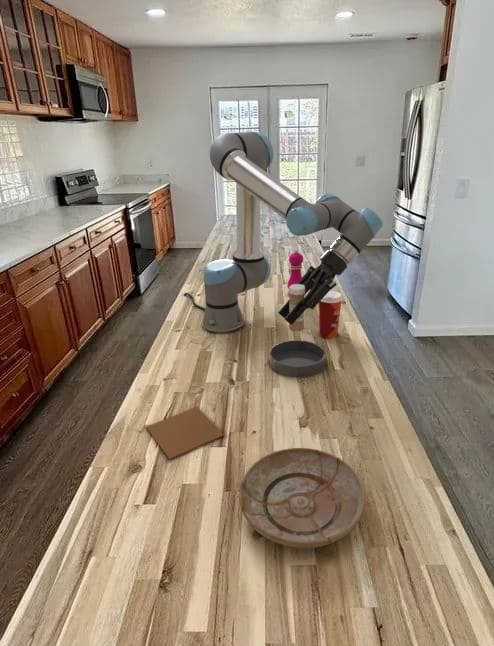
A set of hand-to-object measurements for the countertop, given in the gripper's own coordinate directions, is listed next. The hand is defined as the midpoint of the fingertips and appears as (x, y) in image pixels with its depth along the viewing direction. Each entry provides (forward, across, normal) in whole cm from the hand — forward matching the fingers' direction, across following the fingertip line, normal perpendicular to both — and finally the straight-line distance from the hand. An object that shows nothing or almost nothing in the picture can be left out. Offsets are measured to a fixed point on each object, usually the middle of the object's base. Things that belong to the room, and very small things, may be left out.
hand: (284, 318), depth 127 cm
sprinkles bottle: (0, 0, +6) cm, 6 cm away
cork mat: (+36, +21, -14) cm, 43 cm away
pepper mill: (-8, -54, +31) cm, 63 cm away
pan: (+8, 0, +14) cm, 16 cm away
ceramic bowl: (+24, +52, -2) cm, 57 cm away
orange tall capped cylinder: (-5, -14, +27) cm, 31 cm away
